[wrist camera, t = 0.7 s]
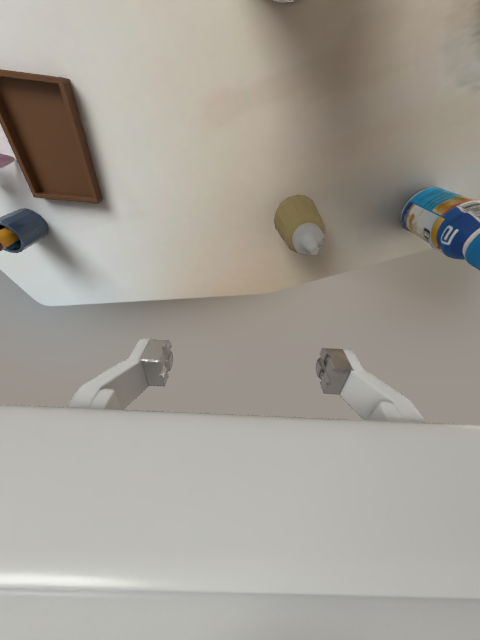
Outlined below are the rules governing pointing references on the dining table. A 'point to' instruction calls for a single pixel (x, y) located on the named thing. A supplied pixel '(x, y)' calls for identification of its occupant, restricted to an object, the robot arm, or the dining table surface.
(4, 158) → the lily
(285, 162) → the dining table surface
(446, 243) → the beverage bottle
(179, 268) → the dining table surface
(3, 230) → the glue stick
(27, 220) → the pen cup
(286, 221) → the squeeze bottle
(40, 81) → the desk tray
